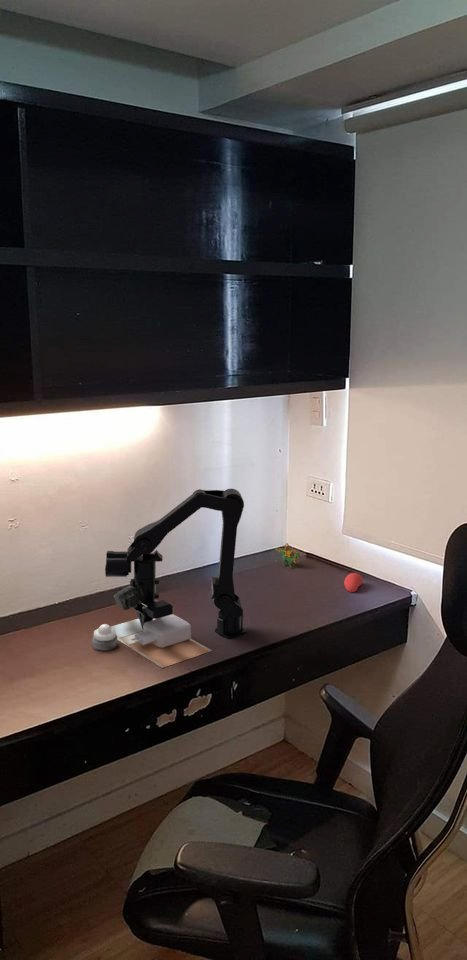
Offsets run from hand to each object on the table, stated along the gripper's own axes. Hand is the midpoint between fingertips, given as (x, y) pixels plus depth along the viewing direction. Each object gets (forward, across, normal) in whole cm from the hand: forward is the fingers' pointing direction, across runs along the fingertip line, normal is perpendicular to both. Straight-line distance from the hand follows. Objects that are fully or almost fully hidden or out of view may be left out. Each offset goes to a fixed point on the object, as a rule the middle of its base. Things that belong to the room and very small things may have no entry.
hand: (145, 630), depth 203 cm
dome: (-1, -1, -12) cm, 12 cm away
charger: (+1, +7, 0) cm, 7 cm away
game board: (+1, +5, -4) cm, 6 cm away
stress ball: (+1, +11, +71) cm, 72 cm away
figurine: (+1, -17, +69) cm, 71 cm away
